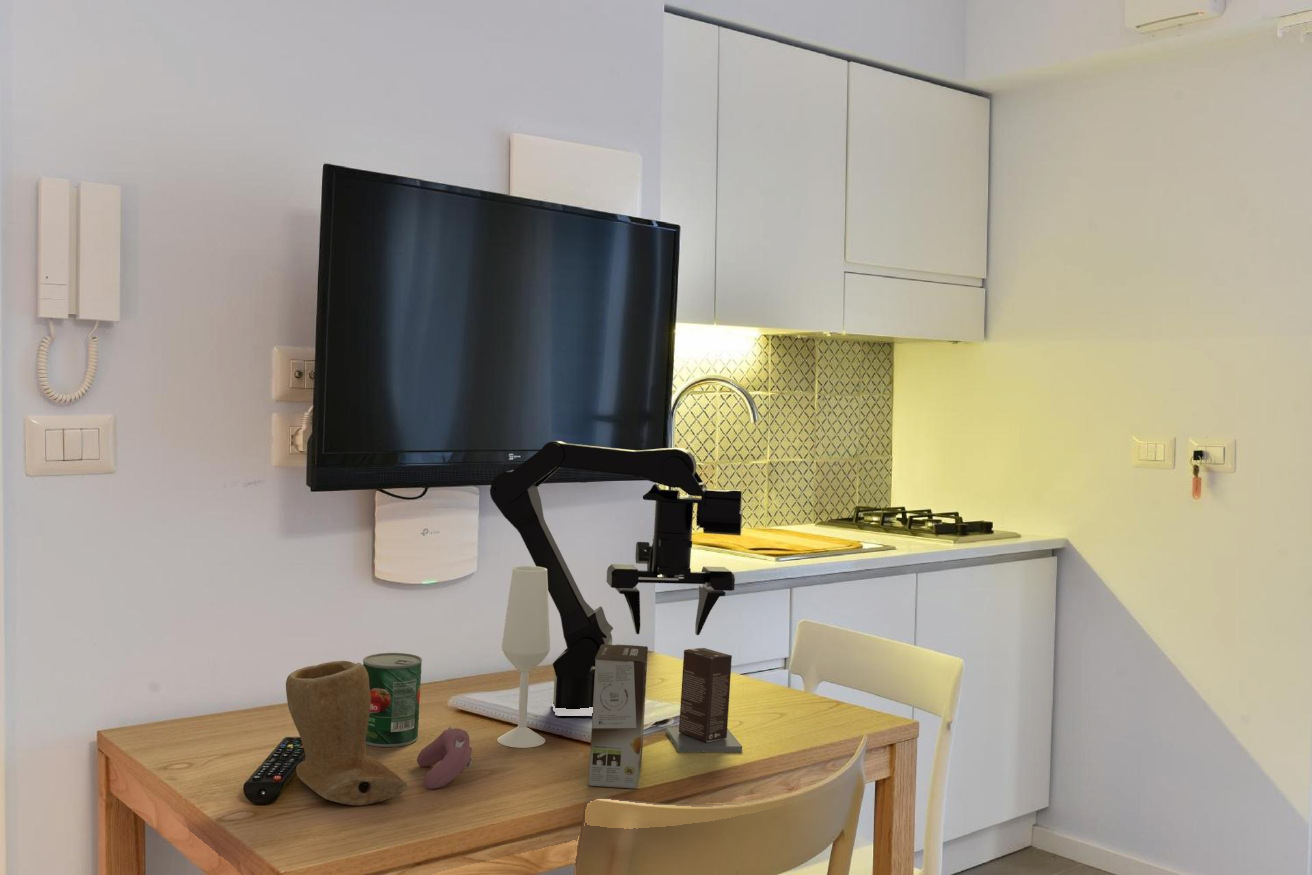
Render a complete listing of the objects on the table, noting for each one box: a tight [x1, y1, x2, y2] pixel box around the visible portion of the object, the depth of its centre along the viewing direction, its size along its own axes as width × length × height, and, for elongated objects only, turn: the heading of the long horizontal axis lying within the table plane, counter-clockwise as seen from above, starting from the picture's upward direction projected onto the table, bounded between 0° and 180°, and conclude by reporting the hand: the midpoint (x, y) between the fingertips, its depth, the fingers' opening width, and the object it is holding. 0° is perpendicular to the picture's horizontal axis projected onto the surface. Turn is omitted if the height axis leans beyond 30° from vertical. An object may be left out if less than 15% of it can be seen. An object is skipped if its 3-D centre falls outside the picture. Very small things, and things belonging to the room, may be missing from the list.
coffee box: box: [588, 644, 649, 790], centre depth 145 cm, size 9×6×16 cm
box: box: [678, 647, 733, 742], centre depth 162 cm, size 6×4×12 cm
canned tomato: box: [362, 652, 423, 748], centre depth 156 cm, size 8×8×11 cm
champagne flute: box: [496, 565, 551, 749], centre depth 158 cm, size 7×7×24 cm
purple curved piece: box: [416, 726, 473, 790], centre depth 142 cm, size 10×5×7 cm, turn 17°
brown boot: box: [285, 660, 408, 806], centre depth 135 cm, size 15×12×15 cm
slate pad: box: [665, 726, 743, 753], centre depth 162 cm, size 9×9×1 cm
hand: (667, 634), depth 172 cm, fingers open, 9 cm apart
